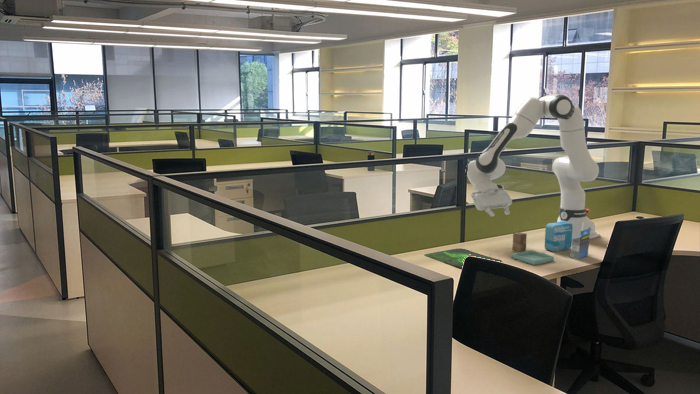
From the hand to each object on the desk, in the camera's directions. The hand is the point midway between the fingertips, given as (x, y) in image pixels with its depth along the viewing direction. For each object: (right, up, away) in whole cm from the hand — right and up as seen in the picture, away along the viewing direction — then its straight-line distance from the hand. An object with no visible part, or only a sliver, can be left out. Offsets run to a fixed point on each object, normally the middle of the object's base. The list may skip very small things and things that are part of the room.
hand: (500, 214), depth 261 cm
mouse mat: (-22, -18, -19) cm, 34 cm away
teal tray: (+8, -18, -22) cm, 29 cm away
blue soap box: (+24, -16, -5) cm, 29 cm away
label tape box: (+29, -18, -17) cm, 38 cm away
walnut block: (+6, -16, -8) cm, 19 cm away
